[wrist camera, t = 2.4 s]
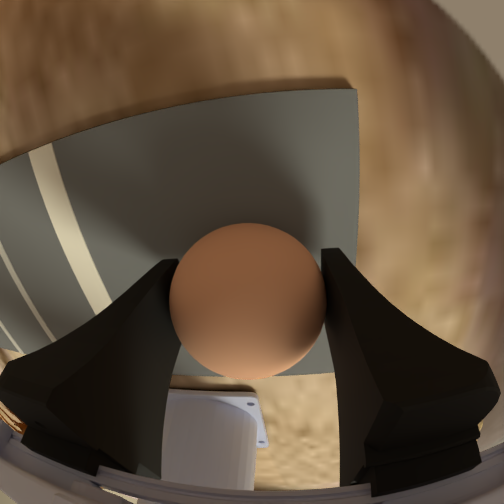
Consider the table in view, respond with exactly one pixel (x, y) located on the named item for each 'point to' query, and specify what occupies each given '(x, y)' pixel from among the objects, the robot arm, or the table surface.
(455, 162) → the table surface
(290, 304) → the ball
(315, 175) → the lane mat
